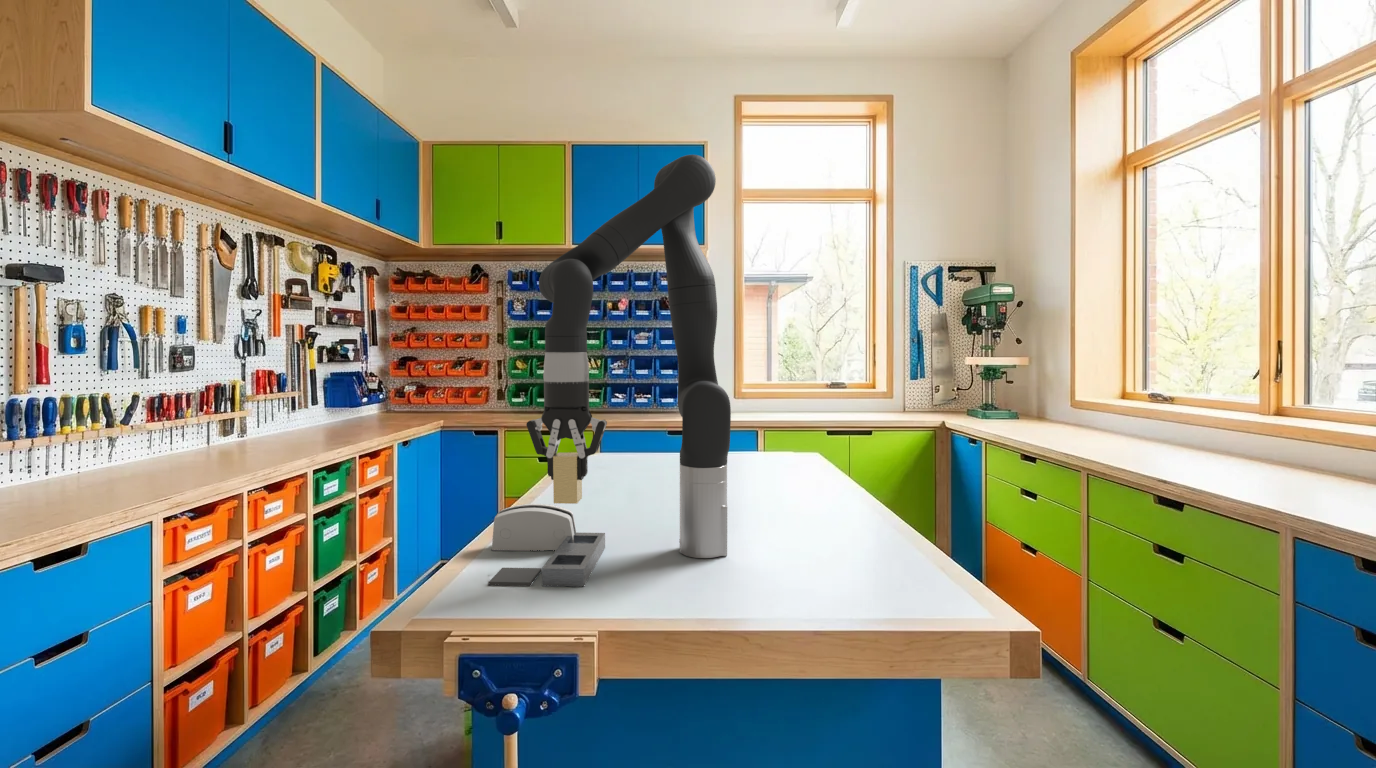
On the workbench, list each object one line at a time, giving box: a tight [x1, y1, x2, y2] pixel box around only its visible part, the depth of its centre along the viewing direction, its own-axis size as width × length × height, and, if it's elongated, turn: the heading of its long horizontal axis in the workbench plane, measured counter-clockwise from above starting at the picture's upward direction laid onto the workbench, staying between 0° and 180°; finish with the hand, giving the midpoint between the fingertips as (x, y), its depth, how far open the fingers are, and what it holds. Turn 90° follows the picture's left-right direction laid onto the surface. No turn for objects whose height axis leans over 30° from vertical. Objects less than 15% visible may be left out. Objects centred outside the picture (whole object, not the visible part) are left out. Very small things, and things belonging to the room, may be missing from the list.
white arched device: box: [491, 503, 577, 552], centre depth 126 cm, size 17×5×10 cm, turn 90°
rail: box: [541, 532, 606, 588], centre depth 116 cm, size 7×21×3 cm, turn 178°
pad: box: [488, 567, 542, 587], centre depth 109 cm, size 7×7×1 cm
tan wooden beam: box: [552, 452, 583, 505], centre depth 109 cm, size 4×4×8 cm
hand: (567, 478), depth 109 cm, fingers closed on tan wooden beam, 4 cm apart
